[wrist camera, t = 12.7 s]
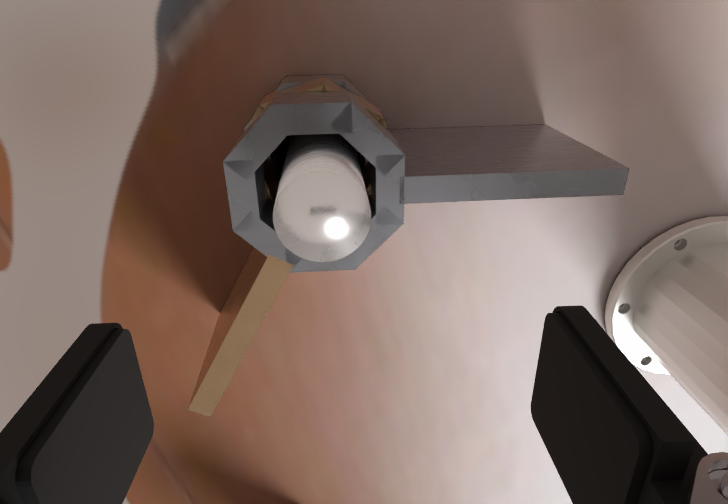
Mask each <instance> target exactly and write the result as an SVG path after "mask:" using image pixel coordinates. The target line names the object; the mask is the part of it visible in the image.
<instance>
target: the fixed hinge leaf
mask: <svg viewBox="0 0 728 504" xmlns="http://www.w3.org/2000/svg"><path fill="white" fill-rule="evenodd" d="M322 77H326V78H327V79H329V80H331V81H333V82H334V83H336V84H338V85H340V86H342V87H343V88H345V89H347V90H349V91H350V92H352V93H354V94H356V95H357V96H359V97H361V98H363V99H365V100H366V101H368V102H370V101H369V100H368V99H367V98H366V97H365V96H364V95H363V94H362V93H361V92H360V91H359V90H358V89H357V88H356V87H355V86H354V85H353V84H352V83H351V82H350V81H349V80H348V79H347V78H346V77H345V76H344V75H343V74H342V75H303V76H286V77H285V79H284V80H283V81H282V82H281V83H280V84H279V86H278V87H277V88H276V89H275V90H274V91H273V92H277V91H280V90H283V89H286V88H290V87H293V86H296V85H299V84H302V83H306V82H309V81H312V80H315V79H319V78H322ZM370 103H371V102H370ZM254 115H255V114H254ZM254 115H253V116H252V117H251V118H250V120H249V121H248V123H247V124H246V126H245V127H244V133H243V134H242V135H241V136H240V138H239V139H238V140H237V141H236V142H235V143H234V145H233V146H232V148H231V149H230V151H229V152H228V154H227V155H226V157H225V158H224V160H223V165H224V172H225V179H226V186H227V193H228V200H229V207H230V214H231V221H232V228H233V231H234V232H235V233H236V234H238V235H239V236H240V237H241V238H243V239H244V240H245V241H247V242H248V243H249V244H251V245H252V246H253V247H255V248H256V249H257V250H259V251H260V252H261V253H262V254H264V255H265V256H266V257H268V256H269V254H270V255H272V256H274V257H276V258H279V259H281V260H283V261H285V262H288V263H290V264H292V265H294V266H293V268H292V269H291V271H290V273H292V272H313V271H333V270H354V269H356V268H357V267H358V266H359V265H361V264H362V263H363V262H364V261H365V260H366V259H367V258H368V257H369V256H370V255H371V254H372V253H373V252H374V251H375V250H376V249H377V248H378V247H379V246H380V245H382V244H383V243H384V242H385V241H386V240H387V239H388V238H389V237H390V236H391V235H392V234H393V233H394V232H395V231H396V230H397V229H398V228H399V227H400V226H401V225H402V224H404V223H403V222H404V204H407V203H431V202H456V201H480V200H505V199H529V198H553V197H578V196H602V195H623V193H624V189H625V185H626V180H627V176H628V171H629V168H628V167H626V166H624V165H622V164H620V163H618V162H616V161H614V160H612V159H610V158H609V157H607V156H605V155H603V154H601V153H599V152H597V151H595V150H593V149H591V148H589V147H588V146H586V145H584V144H582V143H580V142H578V141H576V140H574V139H572V138H570V137H568V136H567V135H565V134H563V133H561V132H559V131H557V130H555V129H553V128H551V127H549V126H547V125H514V126H483V127H451V128H420V129H388V124H387V122H386V120H385V118H384V120H385V123H386V127H387V129H386V128H385V127H384V126H383V125H382V124H381V123H380V122H379V121H378V120H377V119H376V118H375V117H373V116H372V115H371V114H370V113H369V112H368V111H367V110H366V109H365V108H364V107H363V106H362V105H361V104H360V103H359V102H358V101H357V100H356V99H355V98H354V97H353V96H352V95H351V94H350V93H349V92H348V91H330V92H292V93H277V95H276V96H275V97H274V98H273V99H272V100H271V102H270V103H269V104H268V105H267V106H266V107H265V109H264V110H263V111H262V112H261V113H260V114H259V116H258V117H257V118H256V119H255V120H254V121H253V123H252V124H251V125H250V123H251V121H252V119H253V117H254ZM383 117H384V116H383ZM311 134H340V135H342V136H343V137H344V138H345V139H346V140H347V141H348V142H349V143H350V144H351V145H352V146H353V147H354V148H355V149H356V150H358V151H359V152H360V153H361V156H362V158H361V159H360V160H359V164H360V168H361V172H363V170H364V168H365V167H366V165H367V163H368V161H369V162H370V192H369V193H368V194H367V197H368V201H369V205H370V209H371V224H370V229H369V231H368V234H367V236H366V238H365V240H364V241H363V242H362V244H361V245H360V246H359V247H358V248H357V249H356V250H355V251H354V252H352V253H351V254H349V255H348V256H346V257H344V258H341V259H338V260H335V261H330V262H315V261H310V260H306V259H303V258H301V257H299V256H297V255H295V254H294V253H292V252H291V251H289V250H288V249H287V248H286V247H285V246H284V245H283V243H282V242H281V241H280V239H279V238H278V236H277V234H276V231H275V228H274V224H273V208H274V204H275V202H274V201H273V200H271V199H270V198H269V197H268V196H267V194H266V185H265V175H264V166H263V162H264V161H265V160H266V159H267V158H268V157H269V160H270V162H271V165H272V168H273V170H274V173H275V176H276V178H277V181H278V183H280V179H281V175H282V171H283V166H282V165H281V164H280V163H279V162H278V161H277V156H276V147H277V146H278V145H279V144H280V143H281V142H282V141H283V140H284V139H285V137H286V136H287V135H311ZM272 256H271V257H272ZM271 260H272V259H271ZM279 265H280V264H279ZM287 267H288V266H287ZM288 271H289V270H288Z"/></svg>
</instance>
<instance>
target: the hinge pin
mask: <svg viewBox="0 0 728 504" xmlns="http://www.w3.org/2000/svg"><path fill="white" fill-rule="evenodd" d="M273 224H274V228H275V231H276V234H277V236H278V238H279V239H280V241H281V242H282V243H283V245H284V246H285V247H286V248H287V249H288V250H289V251H291V252H292V253H294V254H295V255H297V256H299V257H301V258H303V259H306V260H310V261H315V262H330V261H335V260H338V259H341V258H344V257H346V256H348V255H349V254H351V253H352V252H354V251H355V250H356V249H357V248H358V247H359V246H360V245H361V244H362V242H363V241H364V240H365V238H366V236H367V234H368V231H369V229H370V224H371V209H370V205H369V201H368V197H367V193H366V189H365V184H364V180H363V176H362V172H361V168H360V164H359V160H358V156H357V152H356V149H355V148H354V147H353V146H352V145H351V144H350V143H349V142H348V141H347V140H346V139H345V138H344V137H343V136H342V135H340V134H311V135H291V137H290V142H289V146H288V150H287V154H286V158H285V162H284V167H283V171H282V175H281V179H280V183H279V187H278V192H277V196H276V200H275V204H274V208H273Z"/></svg>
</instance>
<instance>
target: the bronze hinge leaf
mask: <svg viewBox="0 0 728 504" xmlns="http://www.w3.org/2000/svg"><path fill="white" fill-rule="evenodd" d="M330 91H348V92H349V93H350V94H351V95H352V96H353V97H354V98H355V99H356V100H357V101H358V102H359V103H360V104H361V105H362V106H363V107H364V108H365V109H366V110H367V111H368V112H369V113H370V114H371V115H372V116H373V117H375V118H376V119H377V120H378V121H379V122H380V123H381V124H382V125H383V126H384V127H385V128H386V129H387V127H386V123H385V120H384V117H383V115H382V113H381V111H380V110H379V108H378V107H377V106H375V105H373V104H372V103H370V102H368V101H366V100H365V99H363V98H361V97H359V96H357V95H356V94H354V93H352V92H350V91H349V90H347V89H345V88H343V87H342V86H340V85H338V84H336V83H334V82H333V81H331V80H329V79H327V78H326V77H322V78H319V79H315V80H312V81H309V82H306V83H302V84H299V85H296V86H293V87H290V88H286V89H283V90H280V91H277V92H273V93H270V94H267V95H265V96H264V97H263V99H262V101H261V102H260V104H259V105H258V108H257V110H256V112H255V115H254V117H253V119H252V121H251V123H250V125H251V124H252V123H253V121H254V120H255V119H256V118H257V117H258V116H259V114H260V113H261V112H262V111H263V110H264V109H265V107H266V106H267V105H268V104H269V103H270V102H271V100H272V99H273V98H274V97H275V96H276V95H277V93H292V92H330ZM263 166H264V175H265V185H266V194H267V196H268V197H269V198H270V199H271V200H273V201H274V202H275V200H276V196H277V192H278V187H279V183H278V181H277V178H276V176H275V173H274V170H273V168H272V165H271V162H270V160H269V157H268V158H267V159H266V160H265V161H264V162H263ZM362 176H363V180H364V184H365V189H366V193H367V194H368V193H369V192H370V162H369V161H368V163H367V165H366V167H365V168H364V170H363V172H362ZM271 256H272V255H270V254H269V256H268V257H266V256H265V255H264V254H262V253H261V252H260V251H259V250H257V249H256V248H255V247H253V249H252V251H251V253H250V255H249V257H248V259H247V261H246V263H245V265H244V267H243V269H242V271H241V273H240V275H239V277H238V279H237V281H236V283H235V285H234V287H233V289H232V291H231V292H230V294H229V296H228V298H227V300H226V302H225V304H224V306H223V308H222V310H221V312H220V315H219V318H218V321H217V324H216V327H215V330H214V333H213V336H212V339H211V342H210V345H209V348H208V351H207V354H206V357H205V360H204V363H203V366H202V369H201V372H200V375H199V378H198V381H197V383H196V386H195V389H194V392H193V395H192V398H191V401H190V404H189V407H188V410H190V411H193V412H196V413H199V414H202V415H205V416H208V417H210V416H211V415H212V413H213V411H214V409H215V407H216V405H217V404H218V402H219V400H220V398H221V396H222V395H223V393H224V391H225V389H226V387H227V385H228V384H229V382H230V380H231V378H232V376H233V375H234V373H235V371H236V369H237V367H238V366H239V364H240V362H241V360H242V358H243V356H244V355H245V353H246V351H247V349H248V347H249V346H250V344H251V342H252V340H253V338H254V337H255V335H256V333H257V331H258V329H259V327H260V326H261V324H262V322H263V320H264V318H265V317H266V315H267V313H268V311H269V309H270V308H271V306H272V304H273V302H274V300H275V298H276V297H277V295H278V293H279V291H280V289H281V288H282V286H283V284H284V282H285V280H286V278H287V277H288V275H289V273H290V271H291V269H292V268H293V266H294V265H292V264H290V263H288V262H285V261H283V260H281V259H279V258H276V257H274V256H272V257H271ZM271 259H272V260H271ZM279 264H280V265H279ZM287 266H288V267H287ZM288 270H289V271H288Z"/></svg>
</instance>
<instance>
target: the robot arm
mask: <svg viewBox="0 0 728 504" xmlns="http://www.w3.org/2000/svg"><path fill="white" fill-rule="evenodd" d="M605 324H606V330H607V333H606V332H605V331H604V330H603V328H602V327H601V326H600V325H599V324H598V322H597V321H596V320H595V319H594V318H593V317H592V315H591V314H590V313H589V312H588V311H587V309H586V308H585V307H583V306H558V307H556V308H555V309H554V310H553V313H548V314H547V315H546V318H545V323H544V329H543V335H542V341H541V347H540V353H539V359H538V365H537V371H536V377H535V383H534V389H533V395H532V401H531V413H532V418H533V421H534V423H535V425H536V427H537V429H538V431H539V433H540V435H541V438H542V440H543V442H544V444H545V446H546V448H547V450H548V452H549V454H550V456H551V458H552V461H553V463H554V465H555V467H556V469H557V471H558V473H559V475H560V477H561V479H562V481H563V484H564V486H565V488H566V490H567V492H568V494H569V496H570V498H571V500H572V502H573V504H728V453H725V452H719V453H711V454H709V455H708V454H707V453H706V451H705V450H704V449H703V448H702V447H701V445H700V444H699V443H698V442H697V440H696V439H695V438H694V437H693V436H692V434H691V433H690V432H689V431H688V430H687V428H686V427H685V426H684V425H683V424H682V422H681V421H680V420H679V419H678V418H677V416H676V415H675V414H674V413H673V412H672V411H671V409H670V408H669V407H668V406H667V405H666V403H665V402H664V401H663V400H662V399H661V397H660V396H659V395H658V394H657V393H656V392H655V390H654V389H653V388H652V387H651V386H650V384H649V383H648V382H647V381H646V380H645V378H644V377H643V376H642V375H641V374H640V372H639V371H638V370H637V369H636V368H635V367H634V366H636V367H637V368H639V369H642V370H645V371H649V372H652V373H659V374H670V375H671V376H672V377H673V378H674V379H675V380H676V381H677V382H678V383H679V384H680V385H681V386H682V388H683V389H684V390H685V391H686V392H687V393H688V394H689V395H690V396H691V397H692V398H693V399H694V400H695V401H696V402H697V403H698V404H699V405H700V407H701V408H702V409H703V410H704V411H705V412H706V413H707V414H708V415H709V416H710V417H711V418H712V419H713V420H714V421H715V422H716V423H717V424H718V425H719V427H720V428H721V429H722V430H723V431H724V432H725V433H726V434H727V435H728V216H714V217H706V218H701V219H696V220H692V221H689V222H686V223H684V224H681V225H679V226H676V227H673V228H672V229H670V230H668V231H666V232H664V233H663V234H661V235H659V236H657V237H656V238H654V239H653V240H652V241H651V242H649V243H648V244H647V245H645V246H644V247H643V248H641V249H640V250H639V251H638V252H637V253H636V254H635V255H634V256H633V257H632V258H631V259H630V260H629V261H628V263H627V264H626V265H625V267H624V268H623V269H622V271H621V272H620V274H619V275H618V276H617V278H616V280H615V282H614V284H613V286H612V288H611V290H610V293H609V296H608V300H607V303H606V309H605ZM153 429H154V422H153V417H152V413H151V410H150V406H149V402H148V398H147V394H146V390H145V387H144V383H143V379H142V375H141V371H140V367H139V364H138V360H137V356H136V352H135V348H134V344H133V341H132V337H131V334H130V332H129V330H127V329H123V328H122V326H121V325H120V324H118V323H100V324H89V325H88V326H87V327H86V328H85V329H84V331H83V332H82V333H81V334H80V336H79V337H78V338H77V339H76V341H75V342H74V343H73V344H72V346H71V347H70V348H69V349H68V350H67V352H66V353H65V354H64V355H63V356H62V358H61V359H60V360H59V361H58V363H57V364H56V365H55V366H54V368H53V369H52V370H51V371H50V372H49V374H48V375H47V376H46V377H45V379H44V380H43V381H42V382H41V384H40V385H39V386H38V387H37V388H36V390H35V391H34V392H33V393H32V395H31V396H30V397H29V398H28V399H27V401H26V402H25V403H24V404H23V406H22V407H21V408H20V409H19V410H18V412H17V413H16V414H15V415H14V417H13V418H12V419H11V420H10V422H9V423H8V424H7V425H6V426H5V428H4V429H3V430H2V431H1V433H0V504H122V503H123V501H124V499H125V496H126V494H127V492H128V490H129V487H130V485H131V483H132V481H133V478H134V476H135V474H136V472H137V470H138V467H139V465H140V463H141V461H142V458H143V456H144V454H145V452H146V449H147V447H148V445H149V443H150V440H151V438H152V435H153Z"/></svg>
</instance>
